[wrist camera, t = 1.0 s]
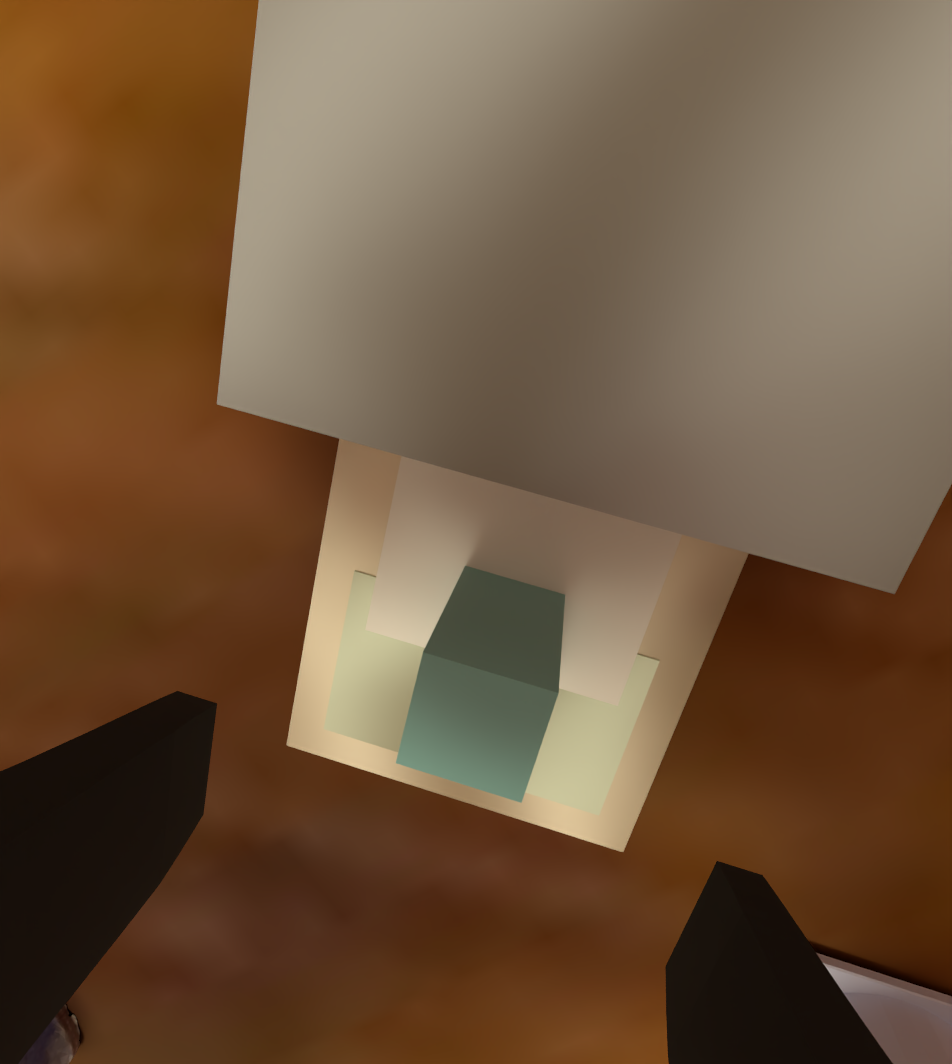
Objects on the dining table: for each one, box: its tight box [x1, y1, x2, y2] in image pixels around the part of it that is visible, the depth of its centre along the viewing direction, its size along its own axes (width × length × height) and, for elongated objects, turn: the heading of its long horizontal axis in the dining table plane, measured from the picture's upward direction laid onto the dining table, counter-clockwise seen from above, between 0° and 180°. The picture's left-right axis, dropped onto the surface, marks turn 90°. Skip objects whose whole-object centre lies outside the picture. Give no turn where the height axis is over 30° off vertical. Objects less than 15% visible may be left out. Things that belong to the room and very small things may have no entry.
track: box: [217, 0, 952, 852], centre depth 12 cm, size 10×24×8 cm, turn 166°
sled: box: [365, 456, 682, 803], centre depth 12 cm, size 6×14×5 cm, turn 166°
